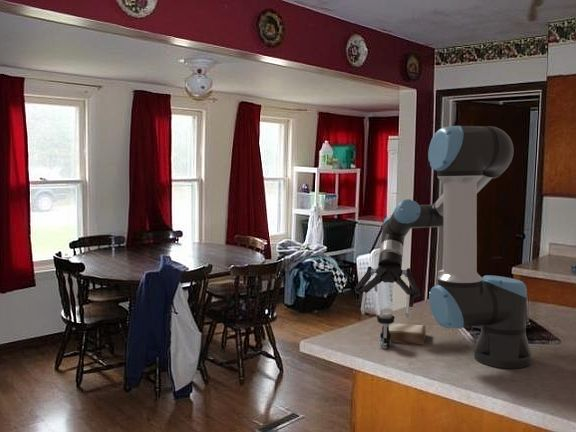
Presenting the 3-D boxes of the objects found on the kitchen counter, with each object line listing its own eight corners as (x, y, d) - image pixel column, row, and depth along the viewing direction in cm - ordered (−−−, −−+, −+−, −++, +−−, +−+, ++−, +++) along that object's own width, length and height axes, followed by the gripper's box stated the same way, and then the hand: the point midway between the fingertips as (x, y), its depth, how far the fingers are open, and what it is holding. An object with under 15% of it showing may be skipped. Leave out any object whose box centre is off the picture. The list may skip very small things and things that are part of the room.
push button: (393, 350, 169) (393, 317, 168) (375, 349, 171) (375, 316, 170) (394, 343, 176) (395, 311, 175) (377, 342, 177) (377, 310, 176)
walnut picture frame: (425, 334, 184) (425, 324, 184) (423, 344, 175) (423, 333, 175) (387, 331, 188) (387, 322, 188) (384, 341, 178) (384, 330, 178)
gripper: (430, 265, 188) (426, 322, 175) (354, 262, 195) (346, 317, 182) (429, 251, 182) (425, 310, 170) (351, 249, 190) (342, 304, 177)
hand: (384, 313), depth 176 cm, fingers open, 13 cm apart
